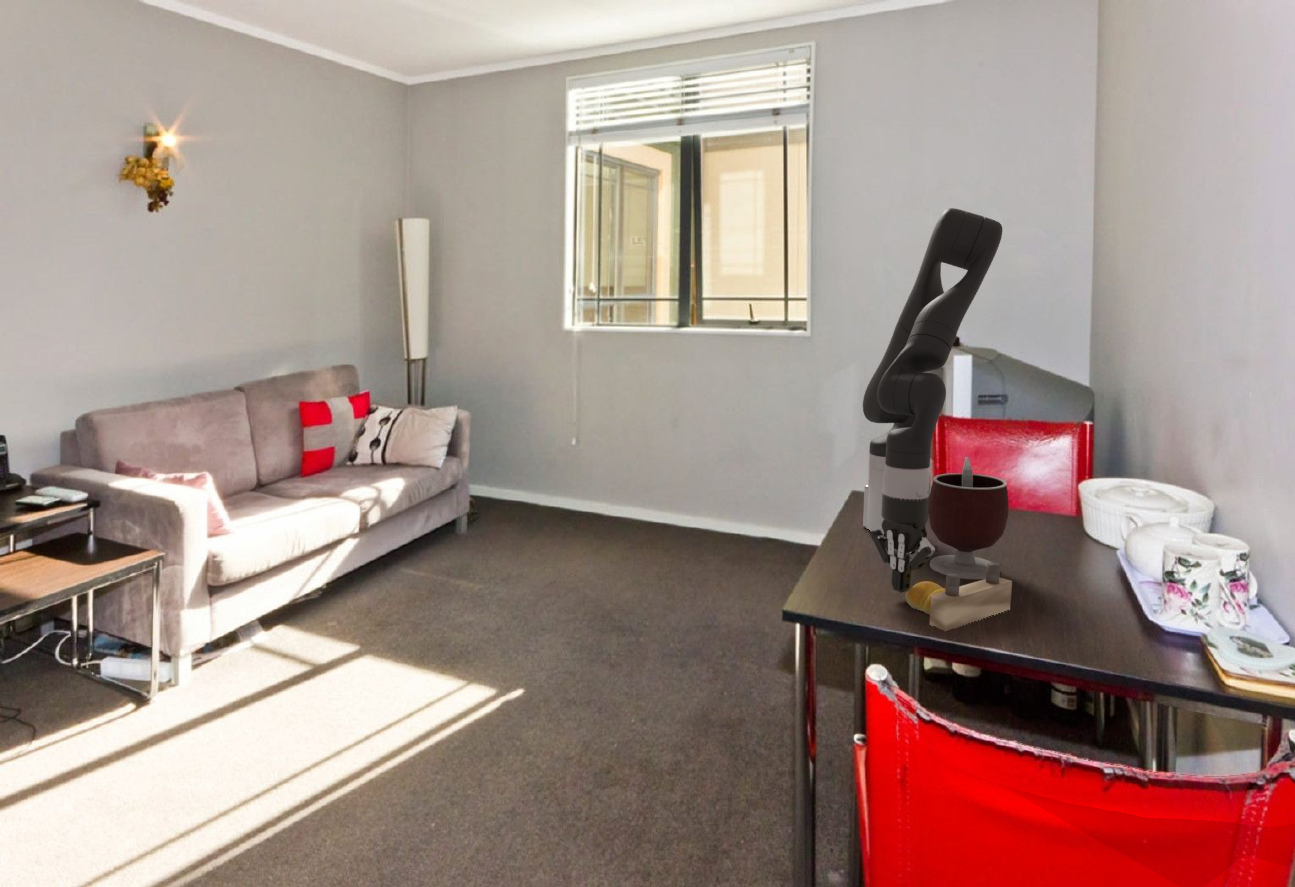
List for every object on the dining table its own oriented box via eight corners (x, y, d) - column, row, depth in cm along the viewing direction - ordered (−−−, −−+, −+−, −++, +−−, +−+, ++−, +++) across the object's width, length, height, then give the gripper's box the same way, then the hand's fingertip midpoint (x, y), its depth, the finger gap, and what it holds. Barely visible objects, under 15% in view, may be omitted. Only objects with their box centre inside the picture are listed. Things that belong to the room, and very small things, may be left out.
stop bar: (929, 625, 124) (932, 576, 123) (993, 604, 133) (996, 558, 131) (945, 631, 122) (948, 582, 121) (1010, 610, 130) (1013, 563, 129)
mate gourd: (1008, 584, 142) (1016, 475, 139) (926, 576, 146) (932, 470, 143) (998, 557, 157) (1005, 458, 153) (923, 551, 161) (929, 454, 157)
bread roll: (945, 622, 126) (946, 598, 125) (897, 605, 133) (898, 582, 132) (974, 610, 131) (976, 587, 130) (927, 594, 138) (928, 572, 137)
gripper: (954, 497, 128) (947, 598, 131) (890, 481, 139) (886, 575, 143) (922, 503, 124) (916, 607, 128) (860, 486, 136) (856, 583, 139)
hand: (900, 590), depth 135 cm, fingers closed
